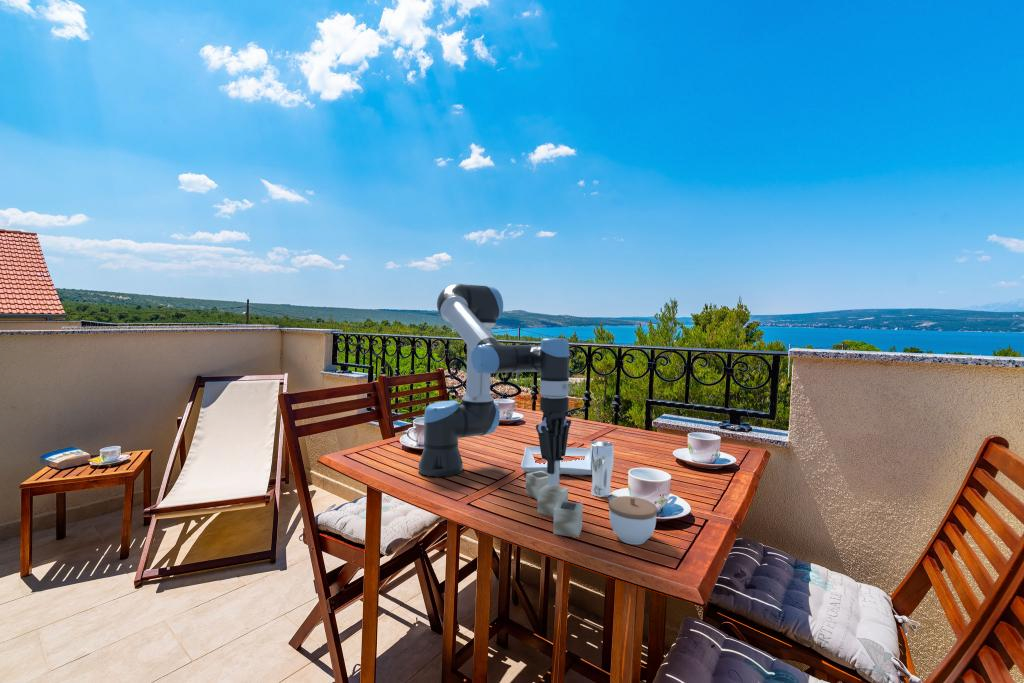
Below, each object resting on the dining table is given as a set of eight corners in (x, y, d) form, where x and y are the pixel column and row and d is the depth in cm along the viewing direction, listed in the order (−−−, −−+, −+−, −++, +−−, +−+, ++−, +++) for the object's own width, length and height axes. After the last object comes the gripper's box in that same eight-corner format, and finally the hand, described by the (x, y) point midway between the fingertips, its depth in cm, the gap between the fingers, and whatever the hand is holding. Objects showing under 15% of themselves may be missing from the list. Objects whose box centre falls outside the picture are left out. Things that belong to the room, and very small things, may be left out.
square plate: (593, 457, 160) (593, 447, 160) (602, 481, 133) (602, 469, 133) (525, 454, 163) (525, 444, 163) (519, 477, 136) (520, 465, 136)
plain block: (537, 513, 107) (537, 490, 107) (547, 505, 112) (548, 483, 112) (557, 518, 104) (558, 495, 104) (567, 510, 109) (568, 488, 109)
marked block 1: (525, 493, 121) (525, 473, 121) (541, 489, 124) (542, 469, 124) (537, 500, 116) (537, 479, 116) (553, 495, 119) (554, 475, 119)
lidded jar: (648, 528, 99) (648, 489, 99) (663, 551, 88) (663, 508, 88) (604, 526, 100) (604, 488, 100) (613, 549, 89) (614, 506, 89)
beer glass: (595, 499, 117) (596, 447, 117) (585, 490, 123) (585, 441, 123) (617, 497, 118) (618, 445, 118) (605, 488, 125) (606, 440, 125)
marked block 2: (553, 534, 96) (553, 508, 96) (557, 523, 101) (558, 499, 101) (578, 538, 94) (579, 512, 94) (582, 526, 100) (582, 502, 100)
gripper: (550, 400, 101) (549, 495, 101) (579, 395, 110) (578, 482, 110) (527, 397, 106) (526, 487, 106) (557, 392, 115) (556, 475, 115)
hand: (553, 484), depth 108 cm, fingers closed
